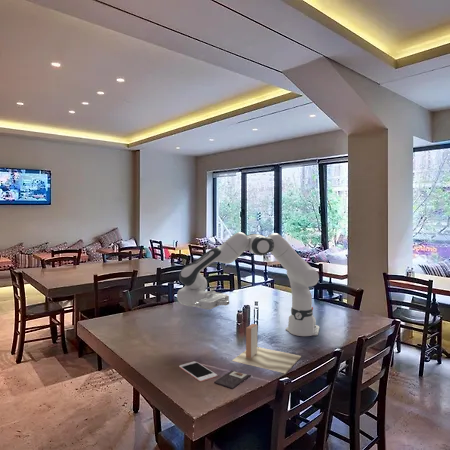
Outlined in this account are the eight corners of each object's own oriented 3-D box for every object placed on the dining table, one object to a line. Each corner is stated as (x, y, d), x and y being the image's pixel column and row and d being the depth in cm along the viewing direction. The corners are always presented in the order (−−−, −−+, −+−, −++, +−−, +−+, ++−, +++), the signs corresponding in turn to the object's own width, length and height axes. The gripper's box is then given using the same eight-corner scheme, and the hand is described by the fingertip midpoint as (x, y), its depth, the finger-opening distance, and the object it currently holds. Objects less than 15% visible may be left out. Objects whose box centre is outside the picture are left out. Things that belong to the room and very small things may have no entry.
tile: (252, 351, 179) (252, 323, 178) (257, 353, 177) (257, 324, 177) (245, 356, 173) (246, 327, 172) (251, 358, 171) (251, 328, 171)
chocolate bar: (214, 381, 147) (237, 366, 162) (214, 384, 147) (237, 368, 162) (232, 387, 142) (255, 371, 157) (232, 390, 142) (255, 373, 157)
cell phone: (200, 382, 148) (200, 380, 148) (178, 367, 163) (178, 365, 163) (217, 377, 153) (217, 375, 153) (195, 362, 168) (195, 360, 168)
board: (251, 346, 187) (251, 345, 187) (301, 357, 174) (301, 355, 174) (231, 362, 168) (231, 360, 168) (285, 374, 155) (285, 373, 155)
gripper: (193, 297, 178) (217, 301, 171) (214, 290, 196) (237, 293, 189) (193, 310, 179) (217, 314, 172) (214, 301, 196) (237, 305, 189)
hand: (228, 303), depth 181 cm, fingers closed
